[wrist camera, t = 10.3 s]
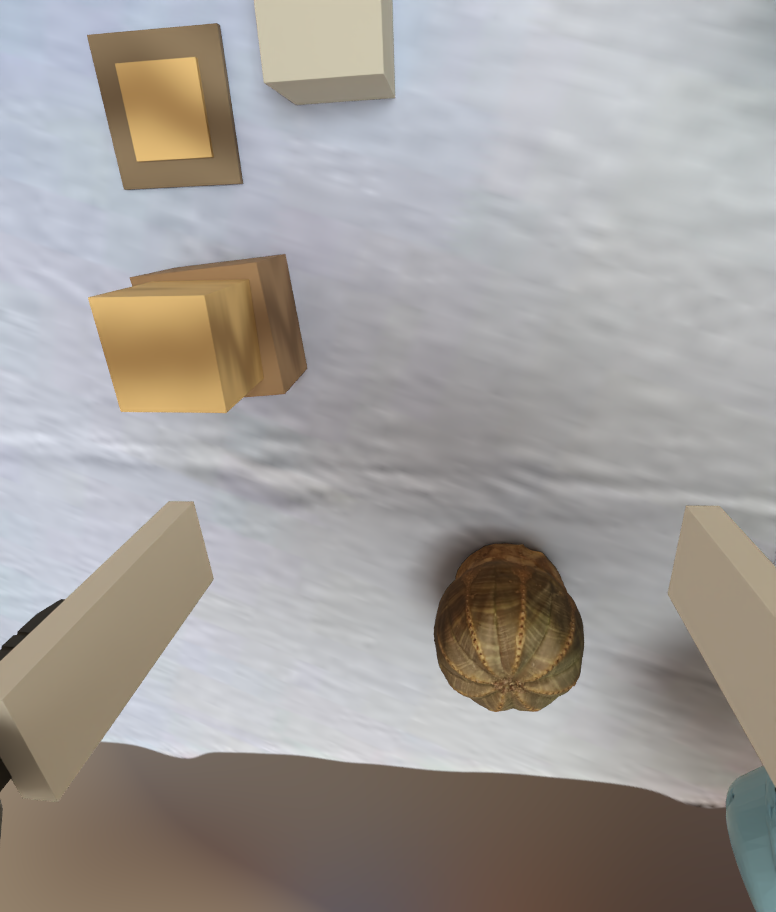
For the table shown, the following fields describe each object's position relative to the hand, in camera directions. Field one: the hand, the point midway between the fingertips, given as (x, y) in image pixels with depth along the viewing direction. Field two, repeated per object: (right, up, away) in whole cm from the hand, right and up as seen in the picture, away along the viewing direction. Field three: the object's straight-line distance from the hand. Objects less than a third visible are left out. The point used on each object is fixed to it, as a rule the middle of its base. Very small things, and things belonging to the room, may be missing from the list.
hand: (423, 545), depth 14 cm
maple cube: (-12, +10, +17) cm, 23 cm away
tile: (-14, +24, +17) cm, 33 cm away
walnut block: (-11, +12, +23) cm, 28 cm away
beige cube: (-4, +26, +15) cm, 30 cm away
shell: (+9, -8, +30) cm, 33 cm away
